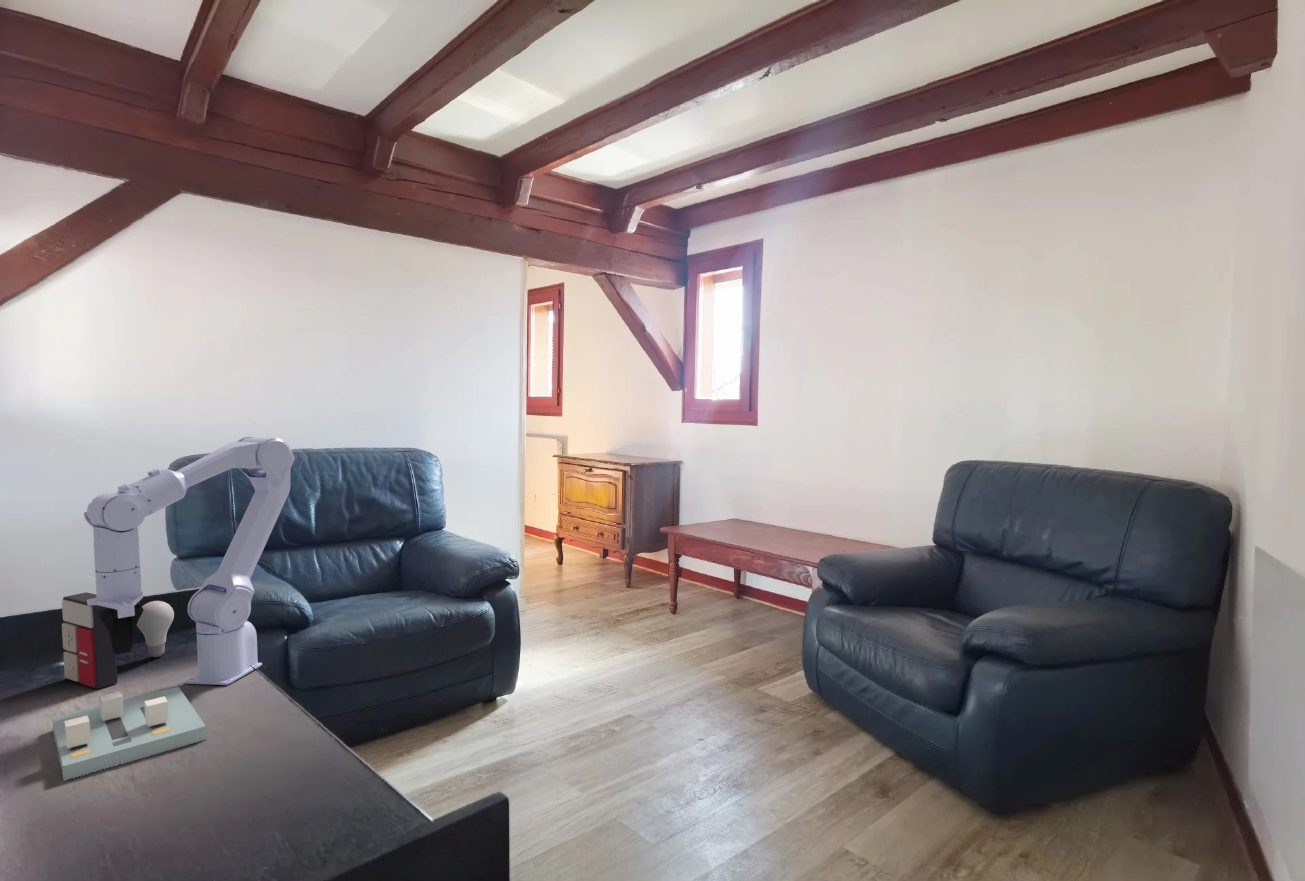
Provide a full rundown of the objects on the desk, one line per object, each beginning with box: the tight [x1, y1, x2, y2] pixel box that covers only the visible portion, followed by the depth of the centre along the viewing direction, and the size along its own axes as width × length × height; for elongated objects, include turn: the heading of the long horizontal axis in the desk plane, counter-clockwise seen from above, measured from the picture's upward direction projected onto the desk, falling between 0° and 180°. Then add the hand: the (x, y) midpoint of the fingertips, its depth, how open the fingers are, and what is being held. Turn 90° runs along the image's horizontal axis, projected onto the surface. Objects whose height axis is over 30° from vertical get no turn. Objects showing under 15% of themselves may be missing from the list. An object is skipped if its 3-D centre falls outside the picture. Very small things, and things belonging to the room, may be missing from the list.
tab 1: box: [64, 715, 91, 749], centre depth 96 cm, size 2×2×3 cm
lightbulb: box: [136, 600, 175, 658], centre depth 135 cm, size 6×6×11 cm
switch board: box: [51, 686, 208, 782], centre depth 103 cm, size 20×16×2 cm
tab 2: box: [99, 690, 124, 721], centre depth 104 cm, size 2×2×3 cm
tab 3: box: [144, 696, 169, 727], centre depth 102 cm, size 2×2×3 cm
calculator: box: [61, 591, 118, 690], centre depth 123 cm, size 11×4×15 cm, turn 62°
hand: (122, 652), depth 112 cm, fingers closed
